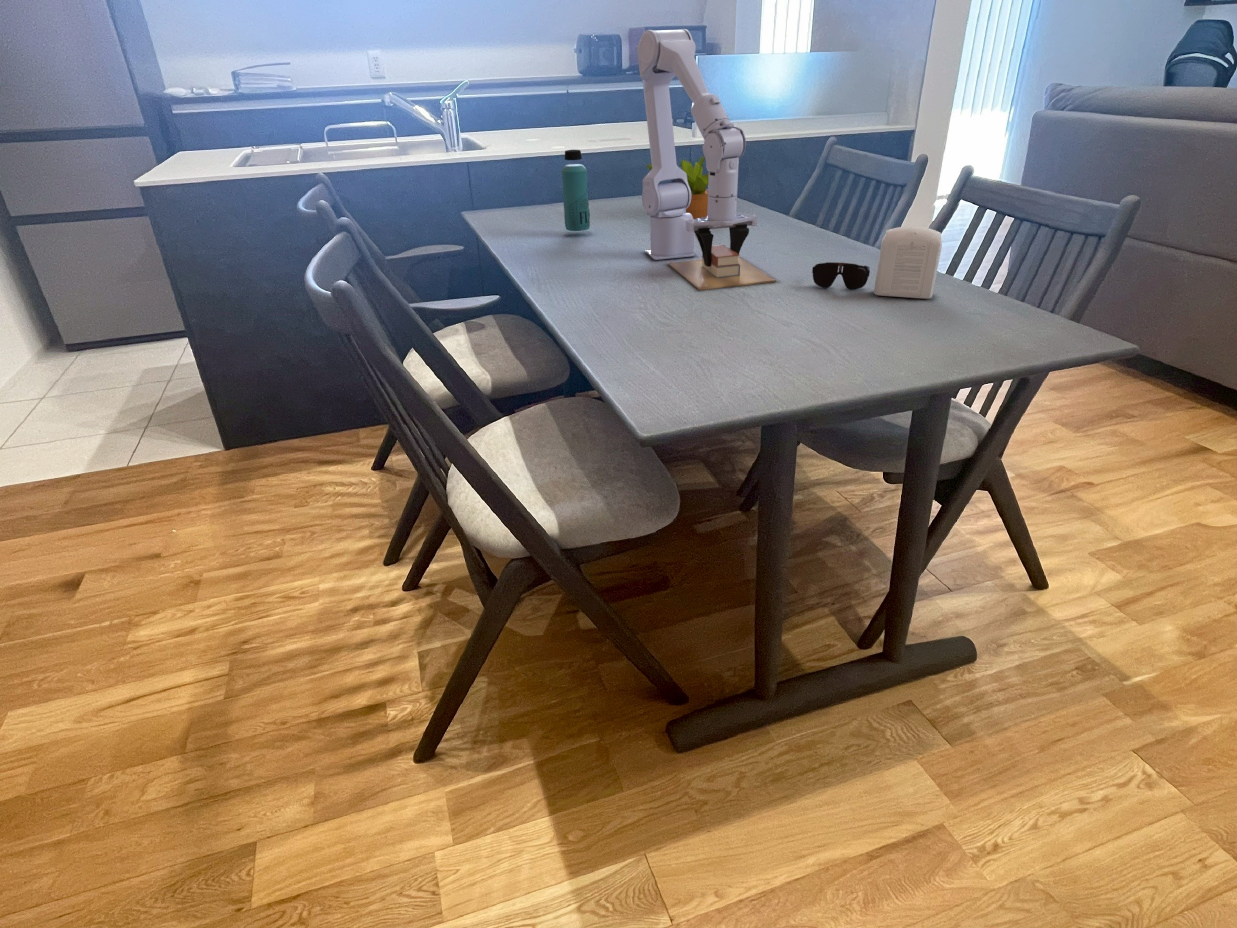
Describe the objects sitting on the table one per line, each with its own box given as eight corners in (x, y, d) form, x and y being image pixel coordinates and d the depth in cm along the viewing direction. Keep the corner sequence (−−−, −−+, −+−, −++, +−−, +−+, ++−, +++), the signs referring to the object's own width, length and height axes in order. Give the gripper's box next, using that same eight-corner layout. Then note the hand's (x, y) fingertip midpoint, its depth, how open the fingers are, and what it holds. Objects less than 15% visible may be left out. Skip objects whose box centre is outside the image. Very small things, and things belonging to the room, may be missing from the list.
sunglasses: (809, 287, 142) (812, 261, 140) (816, 279, 152) (819, 254, 150) (866, 291, 139) (870, 264, 137) (869, 282, 149) (873, 256, 147)
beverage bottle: (581, 238, 184) (576, 152, 175) (559, 235, 188) (553, 151, 178) (595, 232, 189) (591, 148, 179) (574, 230, 192) (569, 147, 182)
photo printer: (931, 293, 137) (944, 225, 131) (933, 300, 133) (945, 230, 127) (873, 290, 140) (883, 223, 134) (873, 297, 136) (883, 228, 130)
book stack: (723, 264, 158) (724, 244, 155) (739, 275, 150) (740, 254, 148) (701, 266, 157) (701, 246, 155) (716, 278, 149) (717, 257, 147)
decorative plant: (739, 223, 193) (744, 118, 181) (647, 226, 194) (645, 121, 181) (727, 203, 216) (731, 109, 204) (645, 206, 217) (644, 112, 205)
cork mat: (737, 257, 164) (737, 256, 163) (775, 282, 147) (775, 280, 146) (668, 264, 160) (668, 262, 160) (699, 290, 144) (699, 288, 143)
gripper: (694, 201, 141) (693, 272, 148) (765, 195, 144) (760, 265, 151) (682, 195, 147) (682, 263, 154) (750, 189, 150) (747, 257, 157)
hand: (720, 264), depth 153 cm, fingers closed on book stack, 5 cm apart
